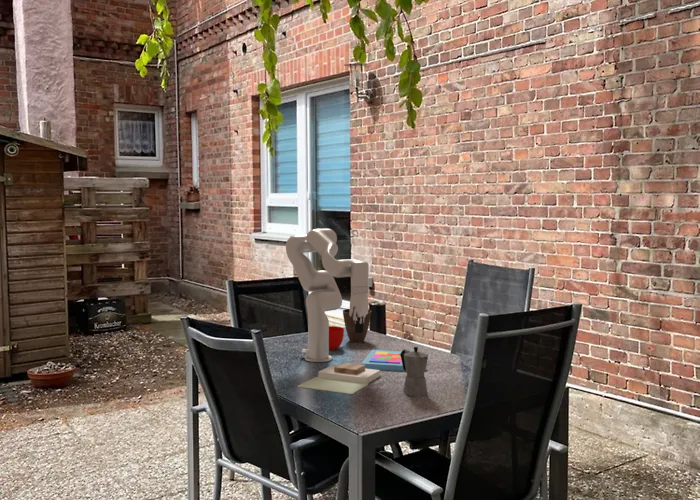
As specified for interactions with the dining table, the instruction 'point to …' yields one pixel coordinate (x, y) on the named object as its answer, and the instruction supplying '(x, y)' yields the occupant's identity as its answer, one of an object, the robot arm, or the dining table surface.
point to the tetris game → (383, 360)
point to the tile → (349, 368)
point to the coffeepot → (414, 372)
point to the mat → (333, 385)
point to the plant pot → (351, 326)
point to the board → (350, 375)
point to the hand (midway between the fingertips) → (359, 332)
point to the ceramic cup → (335, 337)
